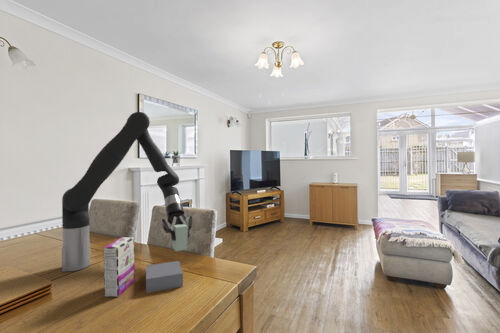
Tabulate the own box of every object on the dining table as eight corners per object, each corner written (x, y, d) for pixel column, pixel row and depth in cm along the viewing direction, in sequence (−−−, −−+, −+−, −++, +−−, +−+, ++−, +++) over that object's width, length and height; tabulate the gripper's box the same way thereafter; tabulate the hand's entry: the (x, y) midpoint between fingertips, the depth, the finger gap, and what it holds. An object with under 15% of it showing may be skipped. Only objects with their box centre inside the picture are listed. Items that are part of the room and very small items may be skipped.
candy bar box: (121, 281, 90) (121, 236, 90) (135, 281, 90) (135, 236, 90) (103, 297, 79) (102, 247, 79) (118, 297, 79) (118, 247, 79)
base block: (145, 294, 82) (145, 279, 82) (146, 278, 93) (146, 265, 93) (182, 287, 86) (182, 273, 86) (179, 273, 97) (179, 260, 97)
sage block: (175, 251, 102) (176, 227, 102) (172, 247, 106) (172, 225, 106) (187, 249, 105) (187, 226, 105) (183, 246, 109) (184, 223, 109)
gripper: (159, 203, 108) (165, 236, 98) (190, 200, 116) (199, 232, 106) (156, 212, 113) (162, 246, 102) (187, 210, 120) (195, 241, 110)
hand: (181, 238), depth 104 cm, fingers closed on sage block, 5 cm apart
